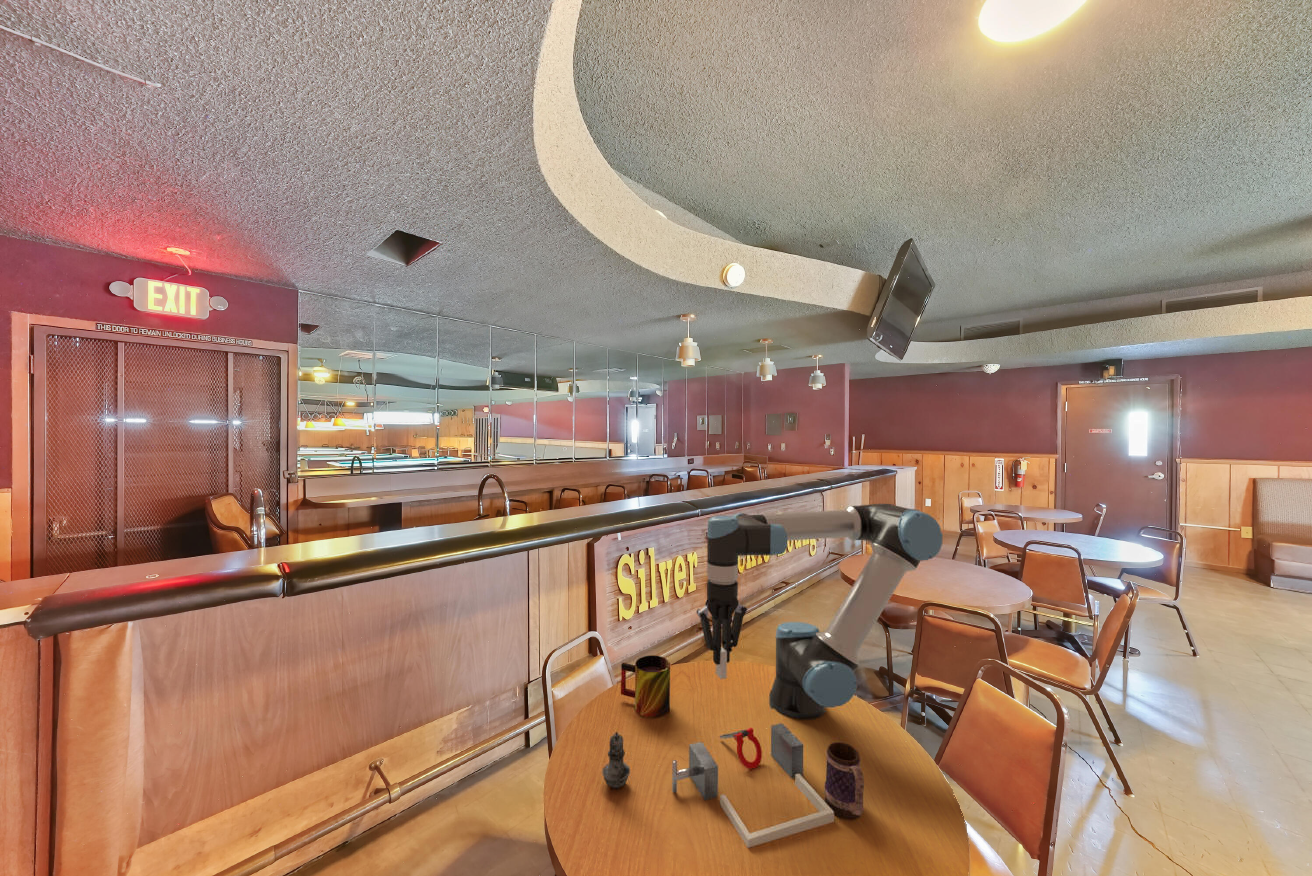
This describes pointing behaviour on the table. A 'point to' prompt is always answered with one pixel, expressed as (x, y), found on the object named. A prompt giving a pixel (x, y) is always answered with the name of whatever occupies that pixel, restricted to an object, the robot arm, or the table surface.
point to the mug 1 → (649, 685)
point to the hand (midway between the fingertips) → (721, 675)
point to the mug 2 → (844, 781)
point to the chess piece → (616, 763)
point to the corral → (788, 827)
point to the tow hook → (739, 738)
